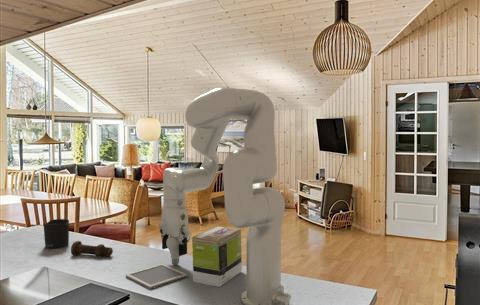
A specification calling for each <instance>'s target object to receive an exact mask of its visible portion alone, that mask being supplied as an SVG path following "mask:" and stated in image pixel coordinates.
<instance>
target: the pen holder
mask: <svg viewBox="0 0 480 305" xmlns="http://www.w3.org/2000/svg"><path fill="white" fill-rule="evenodd" d="M69 235H70V220H69V219H66V218H58V219H57V218H56V219H51V220H49V221H47V222H46V223H45V222H44V223H43V236H44V247H45V248H46V249H51V250H56V249H62V248H66V247H67V246H68V245H69V241H70V236H69Z"/></svg>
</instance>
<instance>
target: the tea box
mask: <svg viewBox="0 0 480 305" xmlns="http://www.w3.org/2000/svg"><path fill="white" fill-rule="evenodd" d="M241 229H242V228H233V227H225V226H224V227H223V226H217V225H216V226H214V227H212V228H209V229H207V230H206V231H203V232H200V233H198V234H196V235H194V236H191V237H192V238H191V239H192V277H193V278H192V280H193V282H194V283H198V284H201V283H202V284H203V285H208V286H210V287H211V286H213V287H218V288H220V287H222V286H223V285H224V284H226V283H227V282H228V281H230V280H231V279H233V278H234V277H235V276H237V275H238V274H240V273H241V272H243V262H242V230H241ZM202 284H201V285H202Z"/></svg>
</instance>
